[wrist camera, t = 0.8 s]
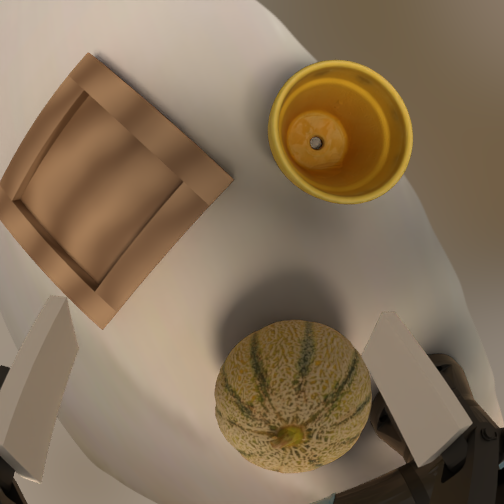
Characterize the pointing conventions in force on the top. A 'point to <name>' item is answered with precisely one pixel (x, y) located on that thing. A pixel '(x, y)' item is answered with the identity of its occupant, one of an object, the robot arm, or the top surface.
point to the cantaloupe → (293, 396)
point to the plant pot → (340, 132)
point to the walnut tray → (104, 189)
